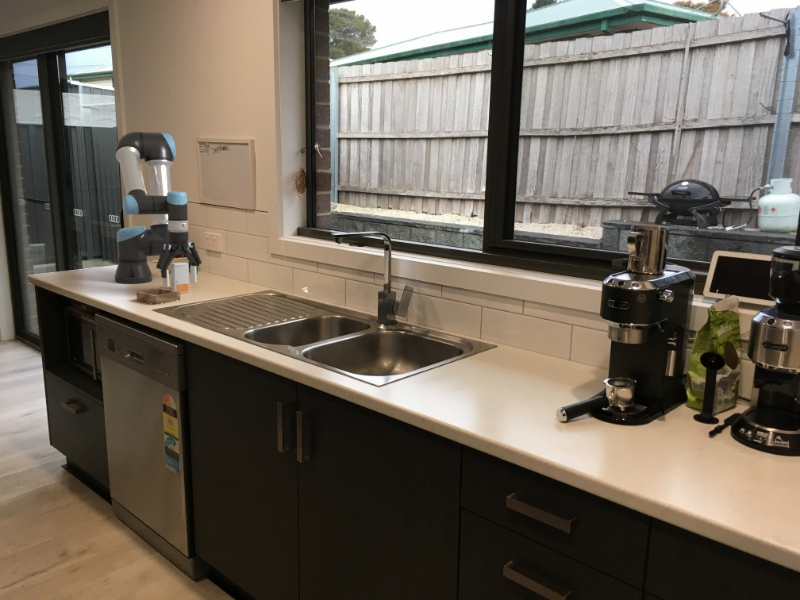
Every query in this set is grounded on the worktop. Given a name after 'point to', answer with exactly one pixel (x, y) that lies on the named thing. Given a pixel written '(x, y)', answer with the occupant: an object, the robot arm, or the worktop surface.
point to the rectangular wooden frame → (158, 296)
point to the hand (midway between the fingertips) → (180, 283)
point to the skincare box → (180, 277)
